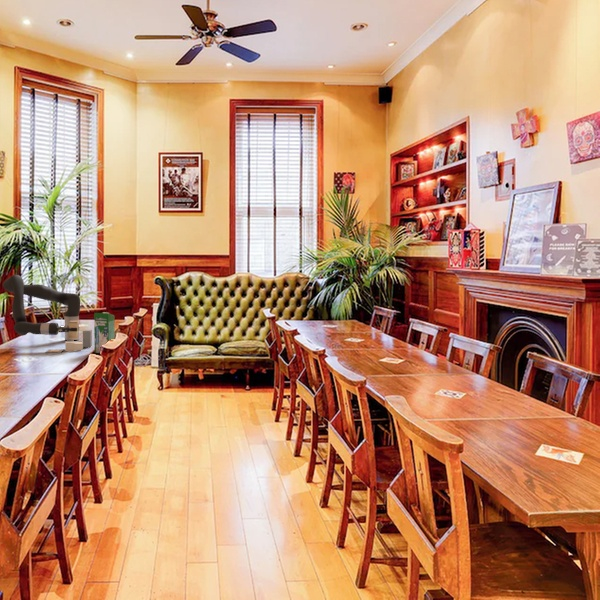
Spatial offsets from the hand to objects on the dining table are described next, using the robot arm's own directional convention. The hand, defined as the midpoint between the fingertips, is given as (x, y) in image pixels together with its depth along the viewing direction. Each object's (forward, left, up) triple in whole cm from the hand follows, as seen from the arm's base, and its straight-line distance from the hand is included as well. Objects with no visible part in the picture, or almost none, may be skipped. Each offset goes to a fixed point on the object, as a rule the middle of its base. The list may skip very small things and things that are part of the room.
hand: (78, 329), depth 348 cm
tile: (+6, -12, -13) cm, 19 cm away
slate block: (-11, +4, -13) cm, 18 cm away
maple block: (0, -3, -6) cm, 7 cm away
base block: (0, -2, -14) cm, 14 cm away
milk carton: (+9, +18, -14) cm, 24 cm away
